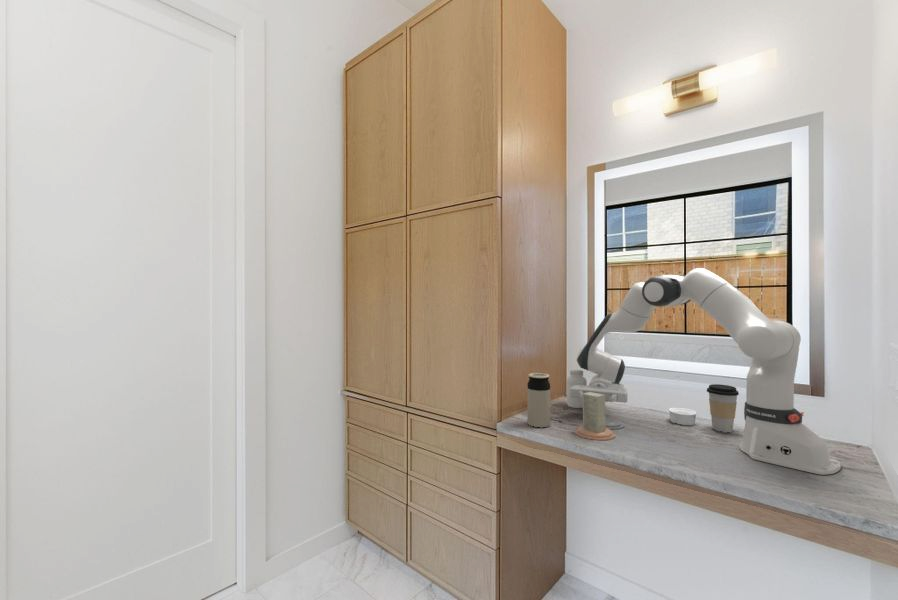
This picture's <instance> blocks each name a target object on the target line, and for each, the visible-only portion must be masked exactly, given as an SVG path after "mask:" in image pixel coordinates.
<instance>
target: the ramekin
mask: <svg viewBox="0 0 898 600" xmlns="http://www.w3.org/2000/svg"><path fill="white" fill-rule="evenodd" d="M668 412H669V420H670V422H671V423H673V424H675V423H677V424H676V425H679V424H682V425H681V426H686V425H690V426H694V425H695V423H696V418H697V417H696V416H697V411H695V410H692V409H690V408H684V407H683V408H682V407H670V408H669V409H668ZM693 424H694V425H693Z"/></svg>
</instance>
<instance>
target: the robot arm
mask: <svg viewBox="0 0 898 600" xmlns="http://www.w3.org/2000/svg"><path fill="white" fill-rule="evenodd" d="M691 301H692V302H693V303H694V304H696V305H697V307H699V308H700V309H701V310H703V311H704V312H705V313H706V314H707V315H709V316H710V317H711V318H712V319H713V320H715V322H717V323H718V324H719V325H720V326H721V327H722V328H723V329H724V330H725V331H726V332H727V334H728V335H729V336H730V338H732V339H733V341H734V342H736V344H737V346H738V348H739V350H740V352H742V353H743V354H744V355H746V356H748V357H749V358H751V362H750V366H749V369H748V373H747V374H746V395H745V396H746V398H745V399H746V400H745V402H744V406H743V415H744V416H743V417H744V428H743V429H744V430H743V435H742V438H741V442H740V444H739V448H738V449H740V451H741V452H743V453H744V454H747V455H748V456H749V457H750V458H751V459H752V460H755V461H760V462H764V463H767V464H768V463H769V464H772V465H777V466H781V467H785V468H789V469H794V470H798V471H802V472H806V473H807V472H808V473H811V474H816V475H833V474H835V473H837V472H839V471H840V470H841V469H842V467H841V463H840V462H839V461H838V460H836V459H834V458H831V455H830V450H829V447H828V444H827V442H826V441H825V440H824V439H823V438H822V437H820V436H819V435H818V434H817V433H815V432H814V431H812V430H811V429H810V428H809V427H808V426H806V425H805V424H804V423H803V417H804V416H805V415H804V411H801V412H800V411H798V410H797V409H796V408H795V407H794V406H795V405H794V402H795V399H794V397H795V396H794V395H795V388H794V387H795V377H796V372H797V371H796V370H797V366H798V360H799V352H800V344H801V340H802V339H801V334H800V332H799V330H798V329H797V328H796V327H795V326H794V325H792V324H791V323H789V322H786V321H783V320H772V319H771V318H769V317H768V316H767V315H765V314H764V313H763V311H761V310H760V309H759V308H758V307H757V306H756V305H755V303H754V302H753V301H752V299H751V298H749V297H747V296H746V295H745V294H744V293H742V291H740V290H739V289H737V288H736V287H735V286H733V285H732V284H731V283H729V282H728V281H727V280H726V279H724V278H722V277H720V276H719V275H717V274H715V273H714V272H712V271H710V270H708V269H707V268H702V267H699V268H698V267H696V268H693V269H692V270H690V271H688V272H687V273H686V275H682V274H680V275H679V274H663V275H655V276H653V277H651V278H648V279H647V280H646V281H640V282H635V283H634V284H632V286H631V287H630V288H629V290H628V292H627V293H626V294H625V296H624V298H623V300H622V302H621V304H620V307H619V308H617V310H616V311H615V312H613V313H608V314H607V315H606V316H604V318H603V319H602V320H601V322H600V323H599V325H598V326H597V327H596V329H595V330H594V332H593V334H592V335H591V336H590V337H589V340H588V341H587V342H586V344H585V345H584V346H583V347H582V348H581V349H580V350H579V352H578V353H577V356H576V361H577V365H578V366H579V368H580V369H581V370H582V369H583V370H586V371H588V372H589V371H590V372H591V373H593V374H595V375H594V376H592V378H591V379H590V381H589V383H588V384H587V386H582V385H574V386H572V387H571V388H570V397H573V398H581V399H583V395H582V393H587V392H593V393H599V394H604V395H605V403H607V402H610V403H615V402H616V403H623V404H625V403H628V390H627V389H626V387H624V384H622V383H621V381H622V379H623V377H624V373H625V369H626V365H625V362H624V360H623V358H620V357H618V356H616V355H614V354H612V353H611V354H610V353H609V352H606V351H603V350H602V349H600V348H598V346H599V344H600V343H601V341H602V340H603V339H604V337H605V336H606V335H607V334H610V333H614V332H615V333H628V334H629V333H635V332H639V331H641V330H643V329H644V328H645V327H646V326H647V324H648V322H649V320H650V319H651V316H652V314H653V312H654V310H655V308H656V307H657V308H659V307H660V308H661V307H676V306H680V305H685V304H687V303H689V302H691Z"/></svg>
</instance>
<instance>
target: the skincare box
mask: <svg viewBox="0 0 898 600" xmlns="http://www.w3.org/2000/svg"><path fill="white" fill-rule="evenodd" d="M582 395H583V408H582V425H583V429H586V430H589V431H593V432H596V433H600V432H603V431H606V423H605V417H606V402H605V395H604V394H599V393H593V392H587V393H582Z"/></svg>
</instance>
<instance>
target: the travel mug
mask: <svg viewBox="0 0 898 600" xmlns="http://www.w3.org/2000/svg"><path fill="white" fill-rule="evenodd" d="M527 376H528V378H529V379H528V382H527V393H526V394H527V395H526V396H527V397H526V399H527V400H526V401H527V410H526V412H527V415H526V417H527V419H526V422H527V423H528V424H529V426H530V425H531V426H530V427H532V426H534V427H533V428H536V427H540V428H539V429H544V428H543V427H545V428H547V427H549V426H551V383H550V381H549V378H550V374H549V373H544V372H543V373H542V372H541V373H540V372H532V373H529V374H527ZM528 424H527V425H528Z"/></svg>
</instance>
